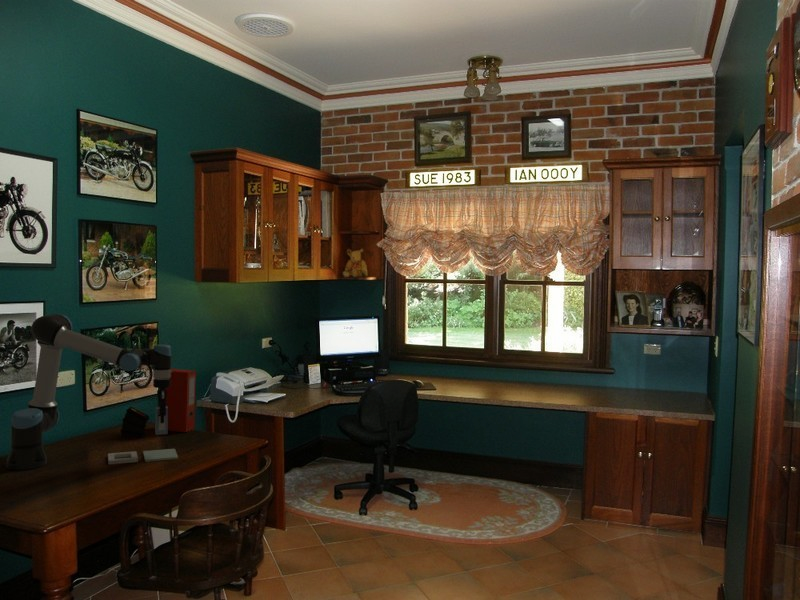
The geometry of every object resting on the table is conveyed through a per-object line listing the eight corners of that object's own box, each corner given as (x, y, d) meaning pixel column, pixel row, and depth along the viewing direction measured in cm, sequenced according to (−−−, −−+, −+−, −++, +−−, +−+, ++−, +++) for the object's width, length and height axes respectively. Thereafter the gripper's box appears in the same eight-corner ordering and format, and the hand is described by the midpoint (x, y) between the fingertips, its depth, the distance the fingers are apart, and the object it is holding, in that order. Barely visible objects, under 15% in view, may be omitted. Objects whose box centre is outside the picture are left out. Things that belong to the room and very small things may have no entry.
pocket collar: (108, 464, 282) (108, 461, 282) (108, 456, 293) (108, 453, 293) (137, 461, 287) (137, 458, 287) (136, 454, 298) (136, 451, 298)
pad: (145, 461, 288) (145, 459, 288) (143, 453, 300) (143, 451, 300) (178, 459, 294) (178, 456, 294) (174, 450, 306) (174, 448, 306)
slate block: (155, 434, 293) (156, 408, 293) (155, 432, 298) (155, 406, 297) (167, 433, 295) (167, 408, 295) (166, 431, 300) (166, 405, 299)
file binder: (166, 426, 351) (168, 368, 350) (194, 429, 347) (196, 370, 345) (157, 429, 343) (158, 370, 342) (185, 432, 339) (187, 372, 337)
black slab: (117, 431, 330) (130, 406, 329) (140, 443, 330) (153, 418, 329) (114, 433, 326) (127, 407, 325) (137, 445, 326) (150, 419, 325)
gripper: (172, 381, 289) (171, 432, 290) (168, 374, 305) (167, 423, 306) (155, 382, 286) (154, 433, 287) (151, 375, 302) (151, 424, 303)
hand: (161, 428), depth 296 cm, fingers closed on slate block, 5 cm apart
